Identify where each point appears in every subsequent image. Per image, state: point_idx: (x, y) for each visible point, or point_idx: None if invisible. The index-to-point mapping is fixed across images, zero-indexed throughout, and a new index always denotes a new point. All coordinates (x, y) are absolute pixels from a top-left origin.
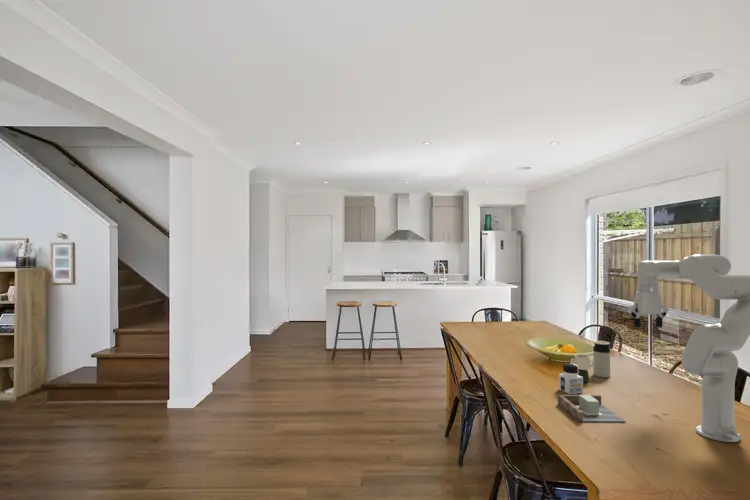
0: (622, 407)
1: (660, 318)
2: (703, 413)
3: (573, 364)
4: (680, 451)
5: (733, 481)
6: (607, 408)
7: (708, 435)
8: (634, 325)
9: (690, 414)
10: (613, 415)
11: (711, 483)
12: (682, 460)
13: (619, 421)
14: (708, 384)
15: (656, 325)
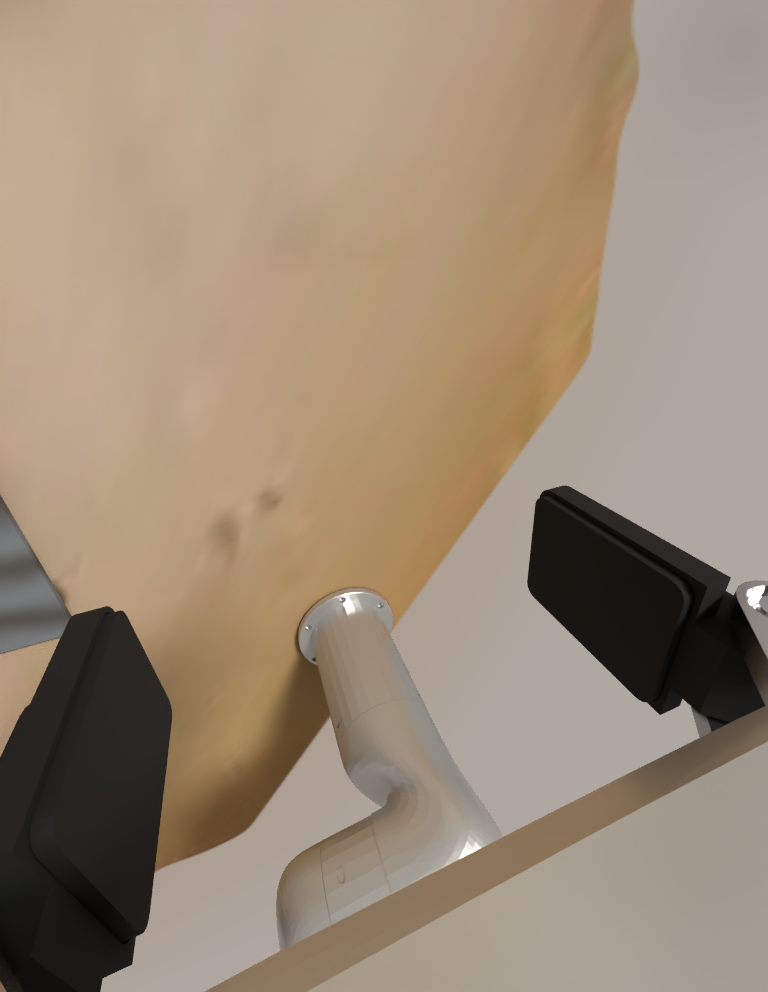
0: (101, 467)
1: (678, 688)
2: (322, 682)
3: None
4: (196, 747)
5: (247, 812)
6: (10, 520)
7: (309, 661)
8: (73, 631)
9: (361, 484)
10: (31, 594)
11: (200, 836)
12: (181, 784)
13: (51, 638)
14: (356, 787)
15: (547, 512)
